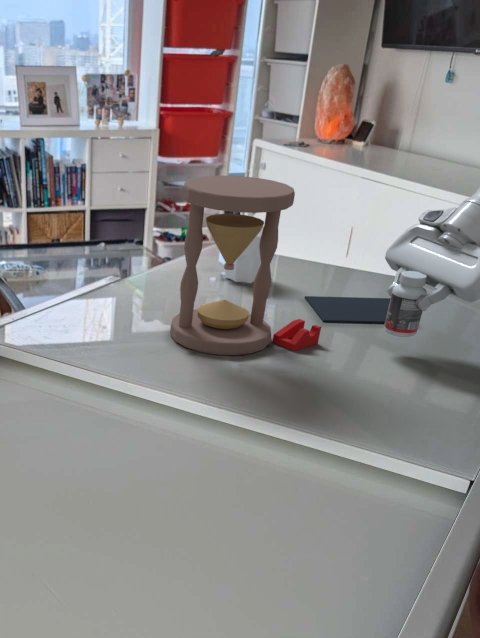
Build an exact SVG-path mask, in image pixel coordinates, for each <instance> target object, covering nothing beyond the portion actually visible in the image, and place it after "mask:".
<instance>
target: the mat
mask: <svg viewBox="0 0 480 638" xmlns="http://www.w3.org/2000/svg"><path fill="white" fill-rule="evenodd" d="M304 299H305V301H306V302H307V303H308V305H309V306H310V307H311V309H313V311H314V312H315V313H316V315H317V316H318V317H319V319H320V320H321V321H322V323H347V324H351V323H352V324H353V323H354V324H382V325H383V324H385V320H386V316H387V312H388V308H389V304H390V299H391V297H353V296H351V297H350V296H349V297H348V296H315V295H313V296H312V295H305V296H304Z"/></svg>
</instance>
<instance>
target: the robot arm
mask: <svg viewBox="0 0 480 638" xmlns="http://www.w3.org/2000/svg"><path fill="white" fill-rule="evenodd" d="M418 222H419V223H416V224H413V225H411V226H410V227H409V228H407V229H405V231H403V233H401V235H399V237H397V239H395V241H394V242H393V243H392V244H391V245H390V246H389V247H388V248H387V250H386V251H385V256H384V259H385V261H386V263H387V265H388V266H389V268H390V269H391V270H392V271H395V272H396V273H395V276H394V279H393V283H391V284H390V285H389V286H388V287H387V289H386V292H387V294H388V295H389V296H390V297H391V295H392V291H393V289H394V287H395V286H397V285H399V284H400V280H399V279H400V276H401V273H402V272H404V271H416V272H420V273H422V274H425V275H426V276H427V278H426V283H425V285H428V286H430V287H432V288H434V290H433V291H431V292H429V293H427V295H426V296H424V295H421V296H420V297H419V298H418V299H417V300H416V301H415V302H414V304H415V306H416V308H418V309H420V310H421V311H422V312H426V311H427V310H428V309H429V308H430V307H431V305H434V304H436V303H439V302H441V301H443V300H445V299H447V297H449V295H451V296H453V297H456V298H458V299H460V300H463V301H465V302H468V303H474V302H477V301H478V300H479V301H480V185H478V188H477V189H476V191H475V192H474V193H473V194H472V195H471V196H469V197H468V198H466V199H465V200H463V201H462V202H461V203H460V204H459V205H458V207H450V208H443V209H428V210H427V209H426V210H425V211H423V212H422V213H421V214H420V215H419V217H418Z"/></svg>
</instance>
